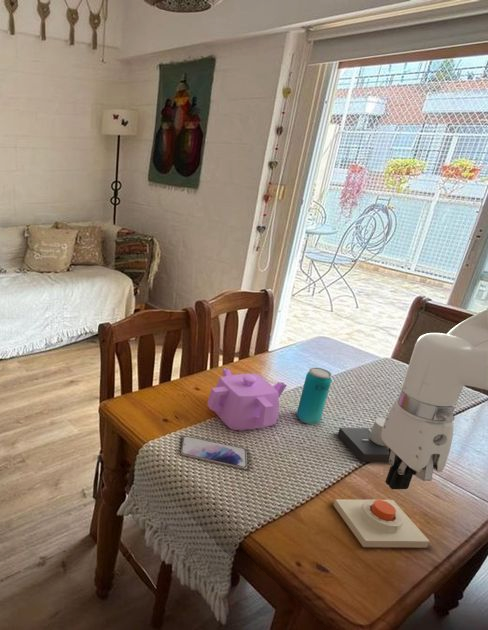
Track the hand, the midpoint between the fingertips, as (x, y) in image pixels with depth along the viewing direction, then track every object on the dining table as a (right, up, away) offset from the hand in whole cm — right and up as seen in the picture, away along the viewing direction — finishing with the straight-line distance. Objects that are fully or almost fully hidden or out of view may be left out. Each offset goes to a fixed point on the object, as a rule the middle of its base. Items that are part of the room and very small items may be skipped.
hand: (396, 485), depth 82 cm
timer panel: (+14, -1, +25) cm, 29 cm away
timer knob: (+14, +2, +24) cm, 28 cm away
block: (-1, -10, +4) cm, 11 cm away
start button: (-1, -6, +3) cm, 7 cm away
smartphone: (-27, -2, +23) cm, 36 cm away
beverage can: (+3, +3, +37) cm, 37 cm away
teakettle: (-14, +4, +38) cm, 41 cm away
